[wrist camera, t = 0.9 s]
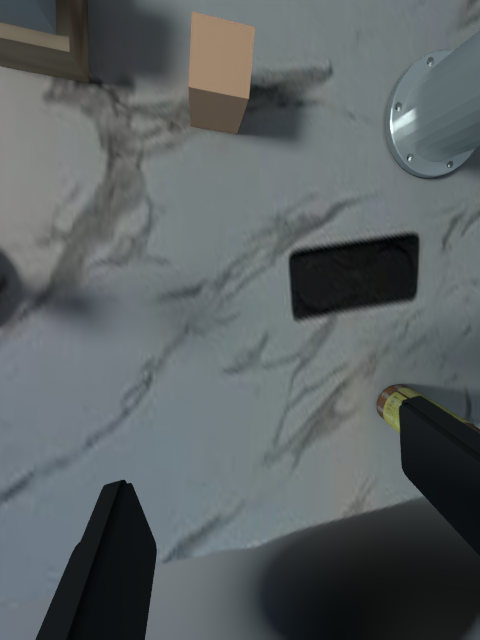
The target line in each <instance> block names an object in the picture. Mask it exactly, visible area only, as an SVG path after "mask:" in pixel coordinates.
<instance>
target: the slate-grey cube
mask: <svg viewBox="0 0 480 640" xmlns="http://www.w3.org/2000/svg"><path fill="white" fill-rule="evenodd" d="M0 22H2V23H6V24H11V25H15V26H19V27H24V28H28V29H32V30H36V31H41V32H45V33H49V34H54V35H57V31H56V1H55V0H0Z"/></svg>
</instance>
